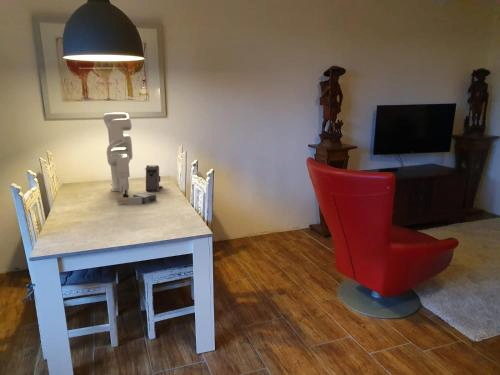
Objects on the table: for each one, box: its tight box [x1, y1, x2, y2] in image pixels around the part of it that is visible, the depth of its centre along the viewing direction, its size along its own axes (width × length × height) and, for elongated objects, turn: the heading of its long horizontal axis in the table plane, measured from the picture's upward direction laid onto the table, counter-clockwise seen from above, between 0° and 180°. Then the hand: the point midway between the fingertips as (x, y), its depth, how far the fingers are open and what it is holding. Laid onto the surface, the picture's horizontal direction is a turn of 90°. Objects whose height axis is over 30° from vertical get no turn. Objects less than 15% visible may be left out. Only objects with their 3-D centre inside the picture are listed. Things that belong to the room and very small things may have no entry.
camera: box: [145, 164, 163, 193], centre depth 290 cm, size 11×17×20 cm, turn 174°
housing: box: [132, 191, 157, 205], centre depth 259 cm, size 13×10×5 cm
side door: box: [116, 196, 145, 205], centre depth 253 cm, size 18×1×5 cm, turn 87°
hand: (126, 200), depth 256 cm, fingers closed
